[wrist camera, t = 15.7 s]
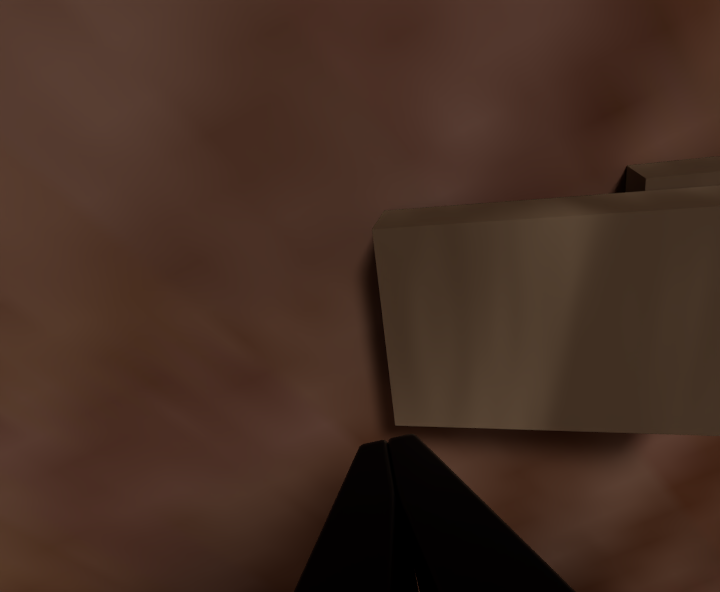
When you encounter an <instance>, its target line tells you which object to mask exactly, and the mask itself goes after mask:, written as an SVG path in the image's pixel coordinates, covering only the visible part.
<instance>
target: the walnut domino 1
mask: <svg viewBox="0 0 720 592" xmlns="http://www.w3.org/2000/svg"><path fill="white" fill-rule="evenodd" d="M372 233H373V242H374V250H375V259H376V267H377V275H378V284H379V292H380V301H381V309H382V318H383V326H384V335H385V343H386V351H387V360H388V368H389V377H390V385H391V394H392V402H393V411H394V419H395V426H426V427H457V428H489V429H520V430H551V431H582V432H613V433H644V434H676V435H707V436H720V185H719V186H705V187H692V188H679V189H666V190H652V191H639V192H626V193H612V194H599V195H586V196H572V197H559V198H546V199H533V200H519V201H506V202H493V203H479V204H466V205H453V206H439V207H426V208H413V209H400V210H386V211H384V212H383V214H382V215H381V217H380V218H379V220H378V221H377V223H376V224H375V226H374V227H373V229H372Z"/></svg>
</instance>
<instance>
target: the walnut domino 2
mask: <svg viewBox="0 0 720 592" xmlns="http://www.w3.org/2000/svg"><path fill="white" fill-rule="evenodd" d="M719 185H720V156H716V157H706V158H696V159H687V160H677V161H667V162H657V163H648V164H638V165H628V166H627V174H626V190H625V193H626V192H639V191H652V190H666V189H679V188H692V187H705V186H719Z"/></svg>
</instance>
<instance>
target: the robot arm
mask: <svg viewBox="0 0 720 592" xmlns="http://www.w3.org/2000/svg"><path fill="white" fill-rule="evenodd" d="M388 445H389V446H388ZM415 573H416V574H415ZM416 577H417V579H416ZM417 582H418V585H417ZM418 586H419V590H420V592H575V591H574V590H573V589H572V588H571V587H570V586H569V585H568V584H567V583H566V582H565V581H564V580H563V579H562V578H561V577H560V576H559V575H558V574H557V573H556V572H555V571H554V570H553V569H552V568H551V567H550V566H549V565H548V564H547V563H546V562H545V561H544V560H543V559H542V558H541V557H540V556H539V555H538V554H537V553H535V552H534V551H533V550H532V549H531V548H530V547H529V546H528V545H527V544H526V543H525V542H524V541H523V540H522V539H521V538H520V537H519V536H518V535H517V534H516V533H515V532H514V531H513V530H512V529H511V528H510V527H509V526H508V525H507V524H506V523H505V522H504V521H503V520H502V519H501V518H500V517H499V516H498V515H497V514H496V513H495V512H494V511H493V510H492V509H491V508H490V507H489V506H488V505H487V504H486V503H485V502H483V501H482V500H481V499H480V498H479V497H478V496H477V495H476V494H475V493H474V492H473V491H472V490H471V489H470V488H469V487H468V486H467V485H466V484H465V483H464V482H463V481H462V480H461V479H460V478H459V477H458V476H457V475H456V474H455V473H454V472H453V471H452V470H451V469H450V468H449V467H448V466H447V465H446V464H445V463H444V462H443V461H442V460H441V459H440V458H439V457H438V456H437V455H436V454H435V453H434V452H433V451H431V450H430V449H429V448H428V447H427V446H426V445H425V444H424V443H423V442H422V441H421V440H420V439H419V438H418V437H417V436H416V435H414V434H408V435H403V436H398V437H394V438H391V439H390V440H389V442H388V443H387V442H386V441H385V440H380V441H375V442H370V443H366V444H362V445H361V446H360V447H359V449H358V451H357V453H356V456H355V458H354V460H353V462H352V464H351V467H350V469H349V471H348V473H347V475H346V478H345V480H344V482H343V484H342V486H341V489H340V491H339V493H338V495H337V498H336V500H335V502H334V504H333V506H332V509H331V511H330V513H329V515H328V517H327V520H326V522H325V524H324V526H323V528H322V531H321V533H320V535H319V537H318V540H317V542H316V544H315V546H314V548H313V551H312V553H311V555H310V557H309V559H308V562H307V564H306V566H305V568H304V570H303V573H302V575H301V577H300V579H299V582H298V584H297V586H296V588H295V590H294V592H419V591H418Z"/></svg>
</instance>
